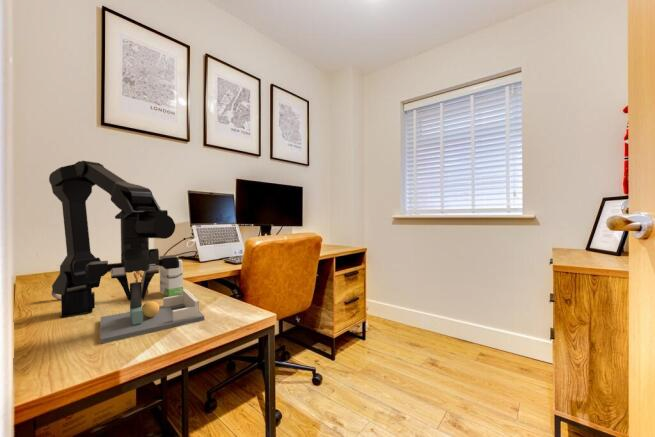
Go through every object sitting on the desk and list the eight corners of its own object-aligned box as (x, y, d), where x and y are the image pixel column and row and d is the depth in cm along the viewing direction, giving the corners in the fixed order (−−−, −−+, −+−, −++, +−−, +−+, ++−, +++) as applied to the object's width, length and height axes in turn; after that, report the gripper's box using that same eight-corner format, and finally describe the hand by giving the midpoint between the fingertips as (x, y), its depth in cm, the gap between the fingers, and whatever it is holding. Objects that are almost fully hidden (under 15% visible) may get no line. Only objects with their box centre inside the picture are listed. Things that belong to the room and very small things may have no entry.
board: (100, 343, 60) (100, 339, 60) (100, 320, 72) (100, 317, 72) (204, 319, 73) (204, 316, 73) (189, 303, 85) (189, 300, 85)
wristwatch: (49, 301, 88) (49, 285, 88) (56, 298, 90) (55, 283, 90) (72, 300, 89) (72, 284, 89) (78, 297, 92) (78, 282, 91)
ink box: (183, 294, 95) (183, 259, 95) (168, 297, 92) (167, 261, 91) (174, 289, 101) (173, 257, 101) (159, 292, 97) (158, 258, 97)
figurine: (128, 302, 86) (128, 264, 86) (121, 299, 90) (120, 262, 90) (157, 296, 93) (157, 260, 93) (149, 292, 97) (149, 258, 96)
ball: (142, 321, 69) (141, 305, 69) (140, 316, 72) (140, 301, 72) (160, 317, 72) (160, 302, 72) (158, 313, 75) (157, 298, 75)
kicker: (131, 325, 66) (131, 287, 66) (129, 315, 73) (128, 280, 72) (143, 322, 68) (143, 285, 68) (140, 313, 74) (139, 279, 74)
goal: (173, 321, 69) (173, 305, 69) (163, 306, 80) (163, 292, 80) (199, 315, 73) (198, 300, 73) (186, 302, 84) (186, 289, 84)
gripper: (82, 242, 57) (84, 318, 58) (182, 237, 69) (183, 300, 69) (86, 238, 66) (88, 303, 67) (175, 234, 78) (175, 290, 78)
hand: (136, 299), depth 70 cm, fingers closed on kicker, 2 cm apart
